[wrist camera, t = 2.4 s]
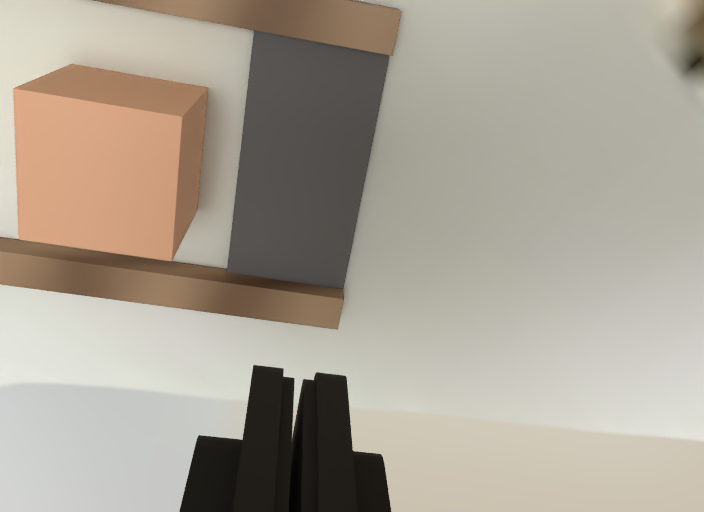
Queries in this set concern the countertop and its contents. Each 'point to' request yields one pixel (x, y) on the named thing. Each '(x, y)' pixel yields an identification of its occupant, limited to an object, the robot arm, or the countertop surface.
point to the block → (108, 160)
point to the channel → (263, 172)
